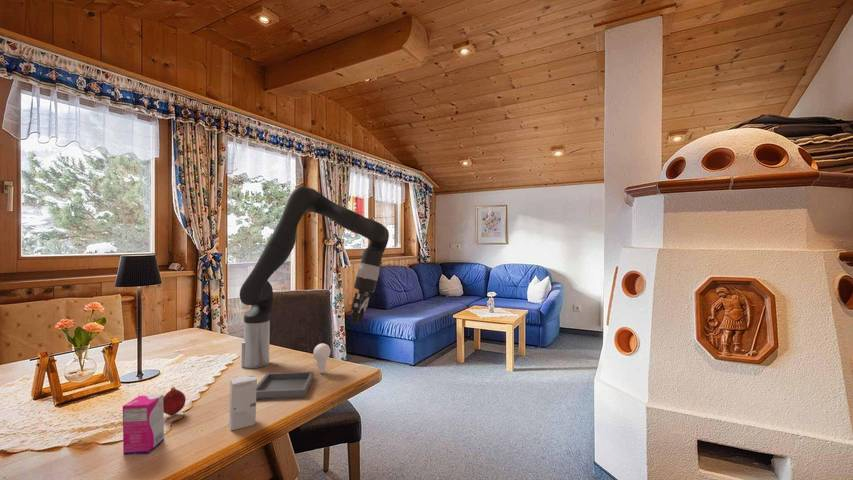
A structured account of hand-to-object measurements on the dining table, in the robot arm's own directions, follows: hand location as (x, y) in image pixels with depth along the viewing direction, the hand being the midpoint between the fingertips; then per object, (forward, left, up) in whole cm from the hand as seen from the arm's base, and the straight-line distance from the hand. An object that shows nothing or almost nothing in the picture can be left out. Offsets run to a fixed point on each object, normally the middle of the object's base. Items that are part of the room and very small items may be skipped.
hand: (356, 322), depth 128 cm
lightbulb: (-13, +9, -21) cm, 26 cm away
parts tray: (-23, -4, -21) cm, 31 cm away
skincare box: (-28, -27, -21) cm, 44 cm away
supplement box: (-47, -36, -21) cm, 63 cm away
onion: (-49, -20, -21) cm, 57 cm away
